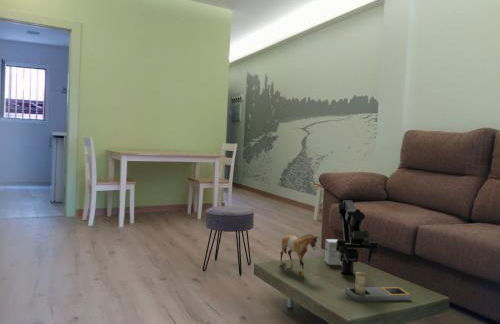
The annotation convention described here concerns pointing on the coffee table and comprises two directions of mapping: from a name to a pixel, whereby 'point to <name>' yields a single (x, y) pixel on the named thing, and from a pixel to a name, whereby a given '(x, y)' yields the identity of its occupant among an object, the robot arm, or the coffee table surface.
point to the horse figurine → (298, 247)
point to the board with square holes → (379, 294)
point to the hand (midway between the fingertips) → (358, 262)
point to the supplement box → (331, 252)
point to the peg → (360, 283)
